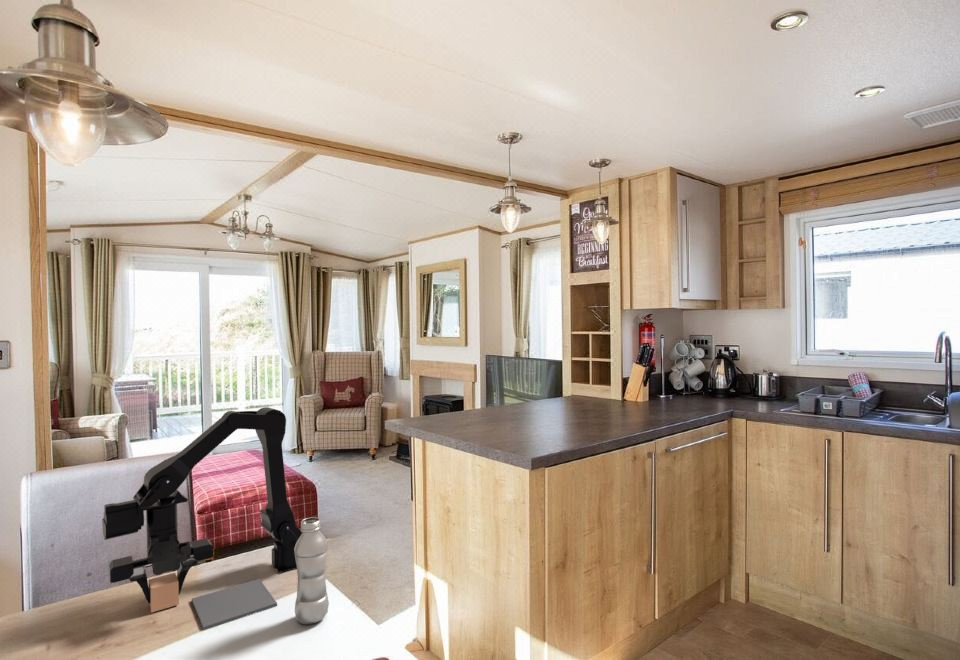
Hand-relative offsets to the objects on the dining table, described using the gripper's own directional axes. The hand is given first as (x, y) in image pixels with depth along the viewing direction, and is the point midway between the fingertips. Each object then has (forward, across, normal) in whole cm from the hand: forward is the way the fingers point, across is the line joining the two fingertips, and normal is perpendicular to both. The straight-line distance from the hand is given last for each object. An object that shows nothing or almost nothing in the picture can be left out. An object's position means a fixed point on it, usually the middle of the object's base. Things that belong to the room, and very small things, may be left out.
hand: (163, 598), depth 111 cm
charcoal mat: (+1, +12, -9) cm, 15 cm away
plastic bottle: (+2, +23, -26) cm, 35 cm away
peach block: (+1, 0, 0) cm, 1 cm away
